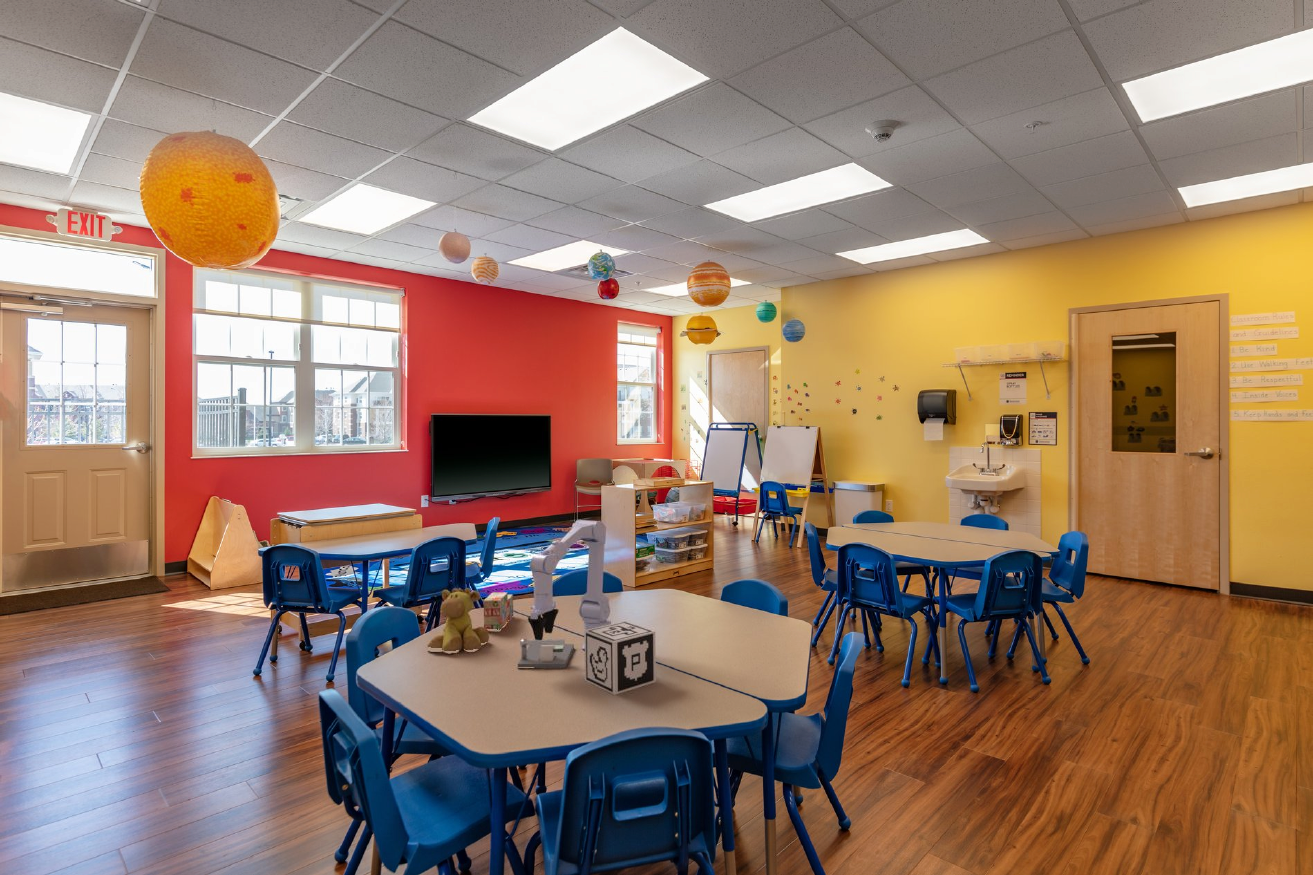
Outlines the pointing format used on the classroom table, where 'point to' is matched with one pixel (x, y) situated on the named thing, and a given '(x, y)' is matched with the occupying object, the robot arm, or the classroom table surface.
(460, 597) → the giraffe plush
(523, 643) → the ball-topped lever
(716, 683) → the classroom table surface
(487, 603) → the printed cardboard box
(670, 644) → the classroom table surface
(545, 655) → the plug
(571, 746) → the classroom table surface
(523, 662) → the socket plate
